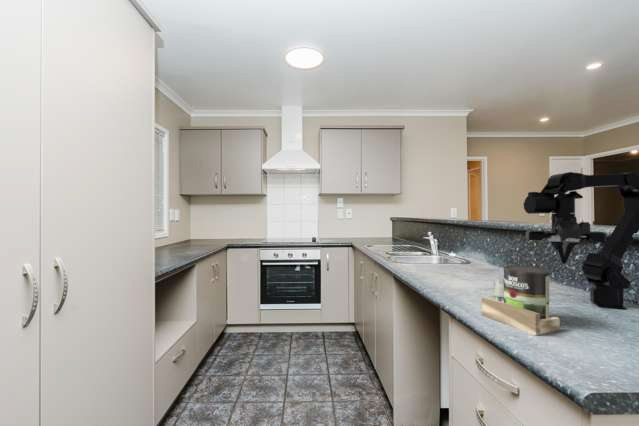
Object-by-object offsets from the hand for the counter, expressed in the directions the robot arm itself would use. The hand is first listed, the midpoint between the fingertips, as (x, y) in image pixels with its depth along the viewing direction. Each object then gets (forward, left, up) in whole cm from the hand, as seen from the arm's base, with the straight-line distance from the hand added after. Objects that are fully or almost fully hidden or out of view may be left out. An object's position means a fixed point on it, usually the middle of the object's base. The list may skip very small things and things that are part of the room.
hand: (563, 263), depth 92 cm
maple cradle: (+15, +22, -13) cm, 30 cm away
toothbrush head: (+16, -6, -14) cm, 22 cm away
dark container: (+13, +20, -13) cm, 27 cm away
